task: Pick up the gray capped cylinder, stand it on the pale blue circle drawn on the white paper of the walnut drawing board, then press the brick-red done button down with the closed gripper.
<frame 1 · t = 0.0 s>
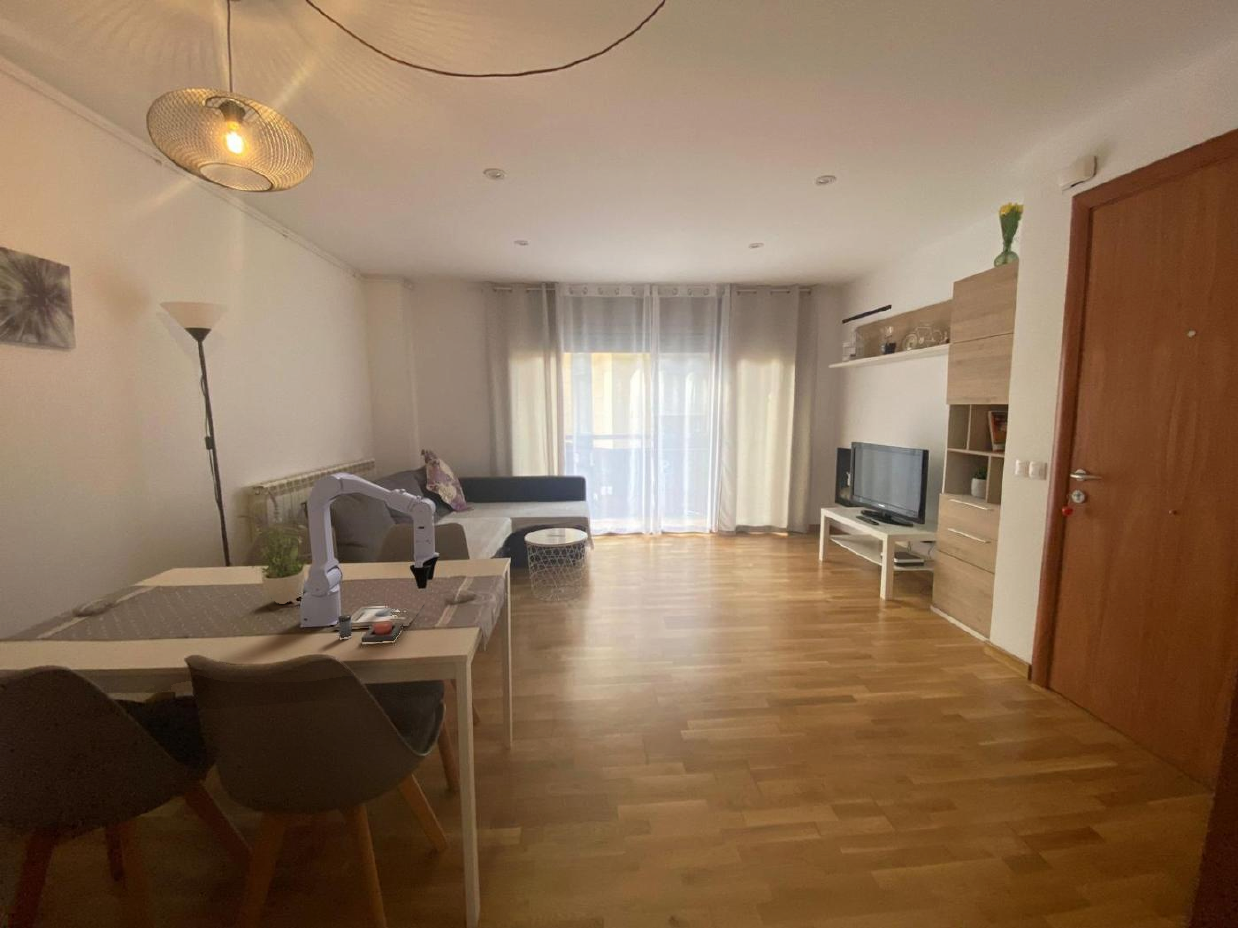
hand: (425, 583, 138), 10 cm above the table, tool pointing down, fingers open, 7 cm apart
button housing: (383, 637, 125), on the table
drawing board: (382, 616, 138), on the table
ceramic mug: (293, 601, 150), on the table
done button: (383, 628, 125), point 2 cm above the table, slide at 0.0 cm
gray capped cylinder: (345, 637, 125), on the table
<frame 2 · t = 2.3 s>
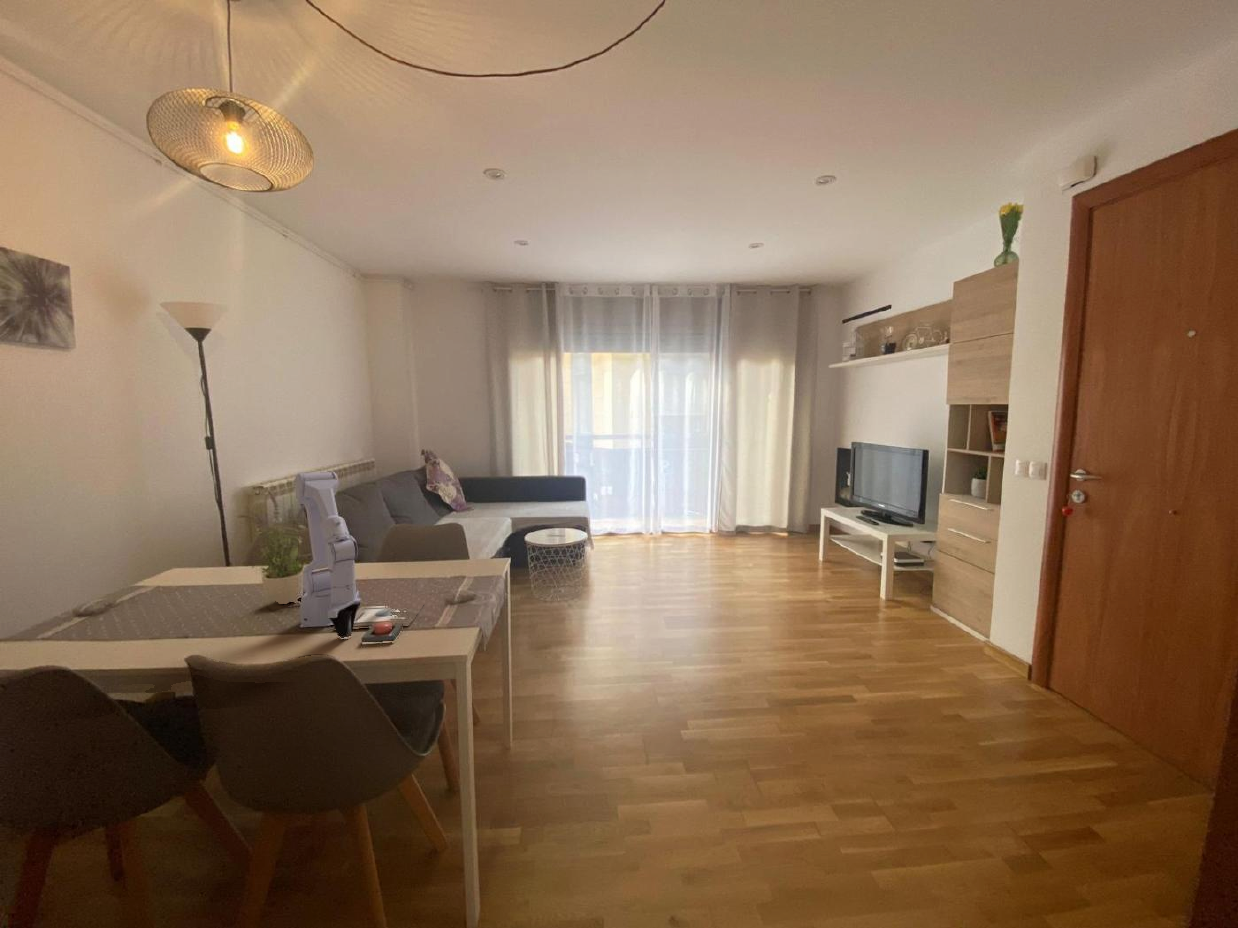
hand: (345, 632, 125), 1 cm above the table, tool pointing down, fingers closed on gray capped cylinder, 3 cm apart
gray capped cylinder: (345, 637, 125), on the table, touching gripper
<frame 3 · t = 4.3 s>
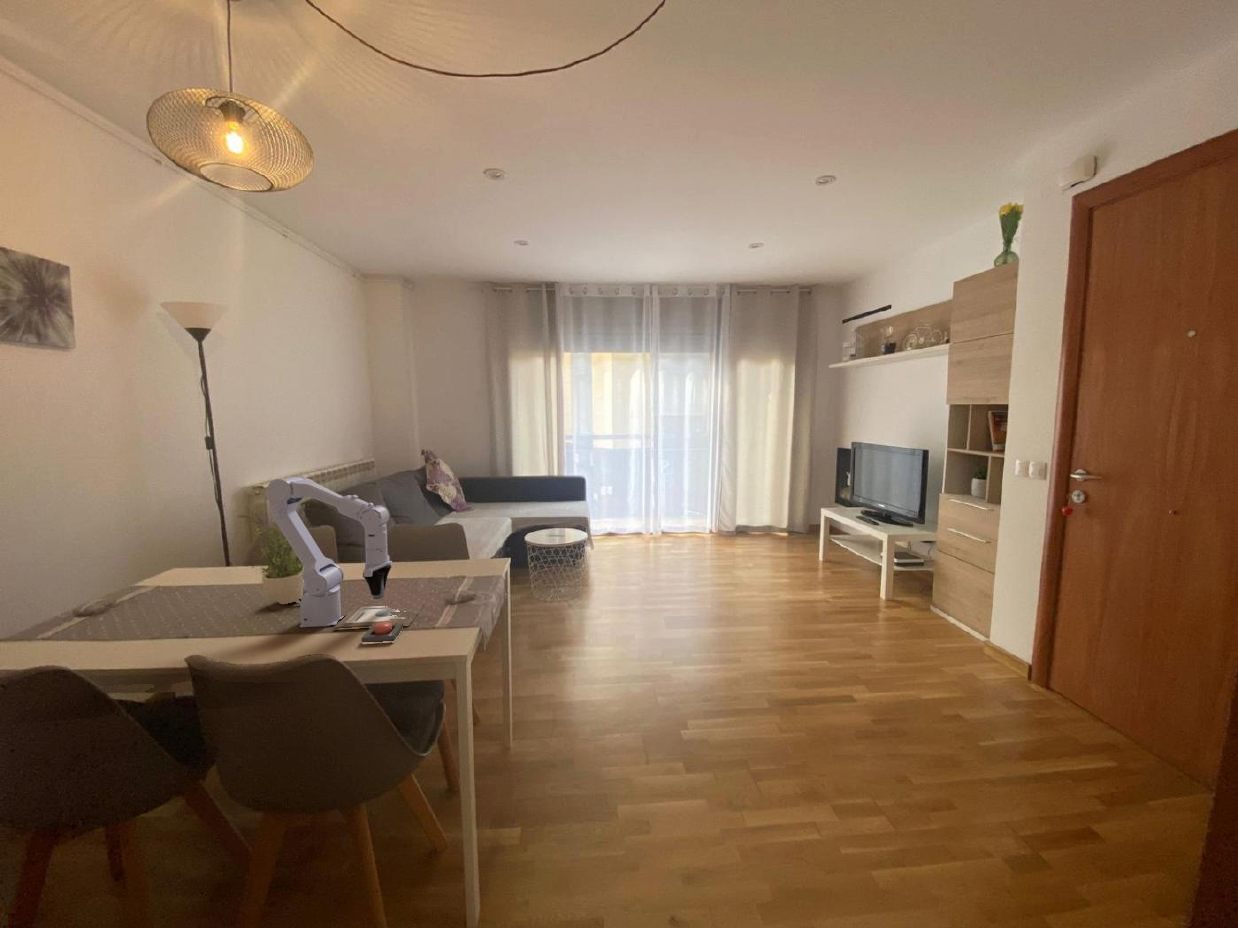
hand: (378, 592, 135), 8 cm above the table, tool pointing down, fingers closed on gray capped cylinder, 3 cm apart
gray capped cylinder: (378, 597, 135), point 7 cm above the table, touching gripper
when the fingers open (4 cm above the table, at t = 5.9 s): gray capped cylinder drops 1 cm, resting on drawing board.
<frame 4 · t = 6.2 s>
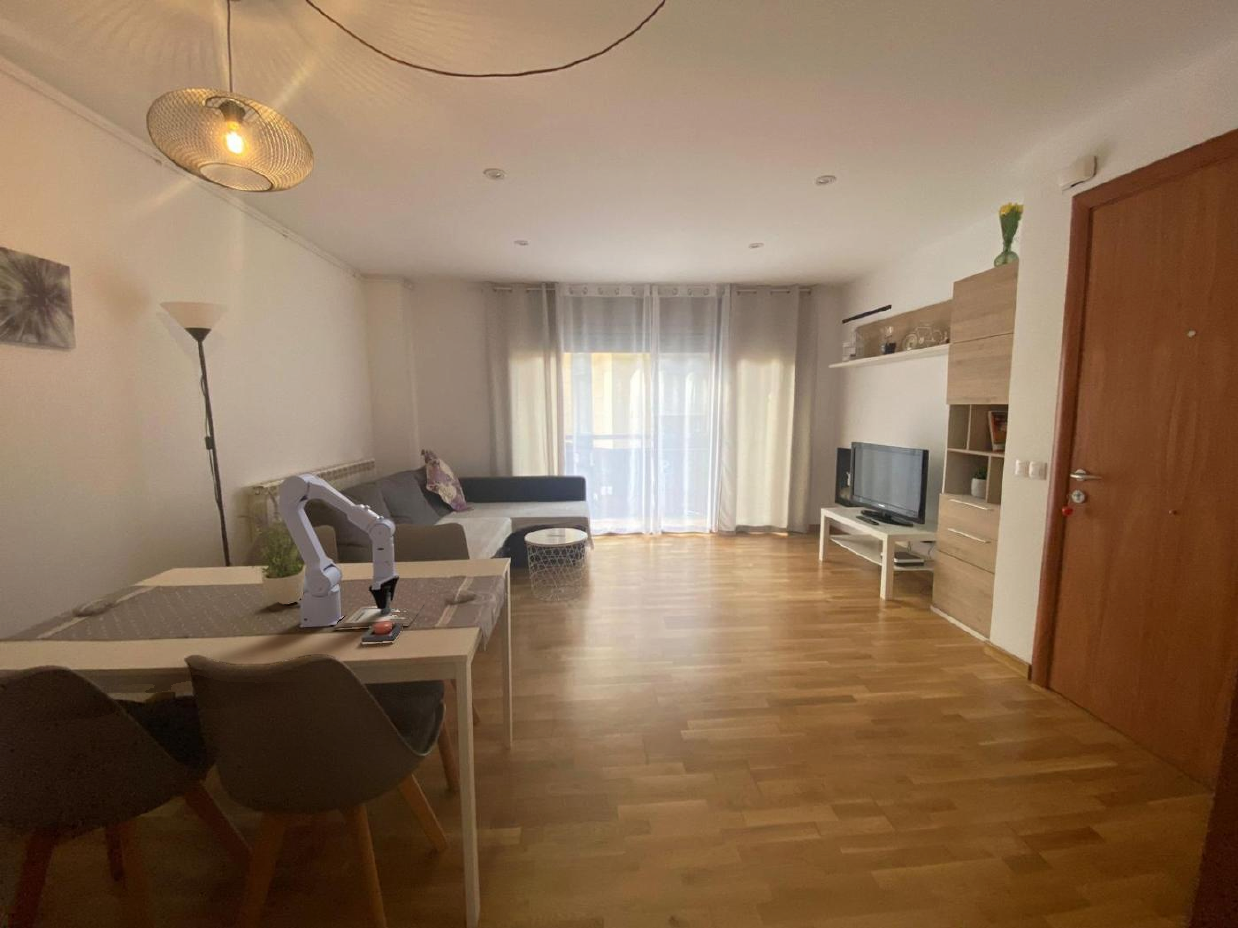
hand: (385, 604, 138), 4 cm above the table, tool pointing down, fingers open, 5 cm apart
gray capped cylinder: (385, 612, 138), point 1 cm above the table, touching drawing board
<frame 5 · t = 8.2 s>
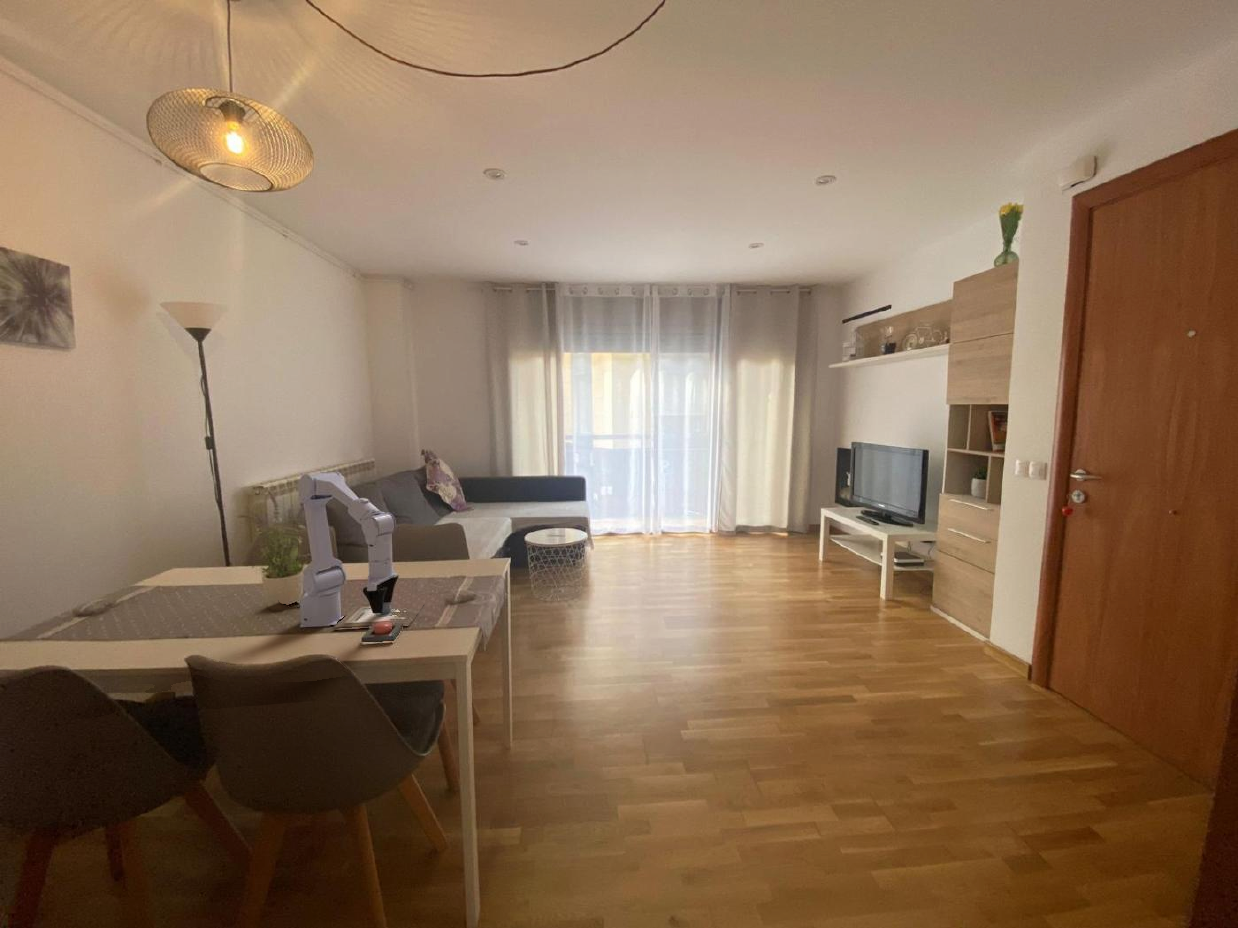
hand: (382, 607, 125), 8 cm above the table, tool pointing down, fingers open, 7 cm apart
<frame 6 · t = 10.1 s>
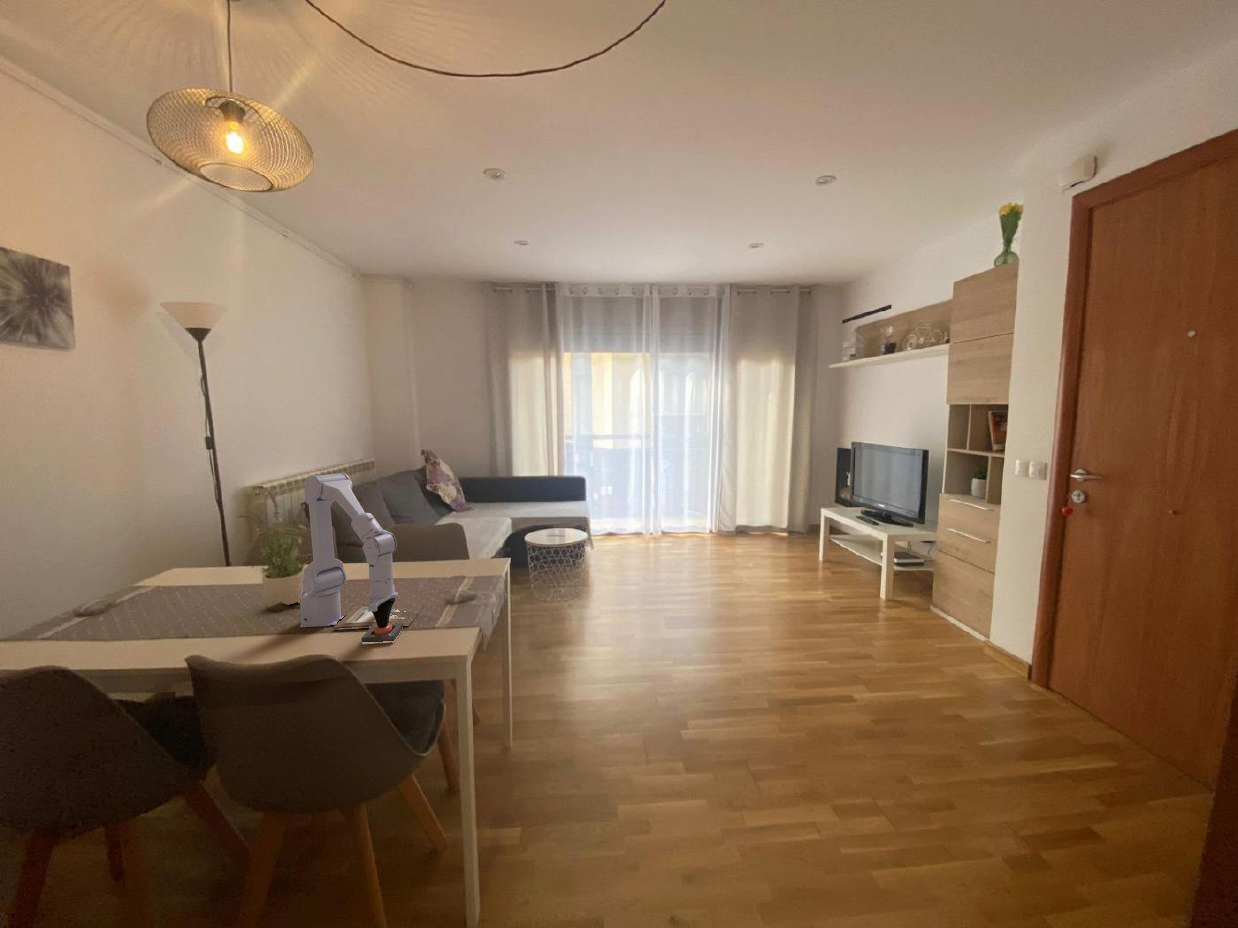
hand: (383, 626, 125), 3 cm above the table, tool pointing down, fingers closed, pressing on done button
done button: (383, 630, 125), point 2 cm above the table, slide at 0.5 cm, touching gripper
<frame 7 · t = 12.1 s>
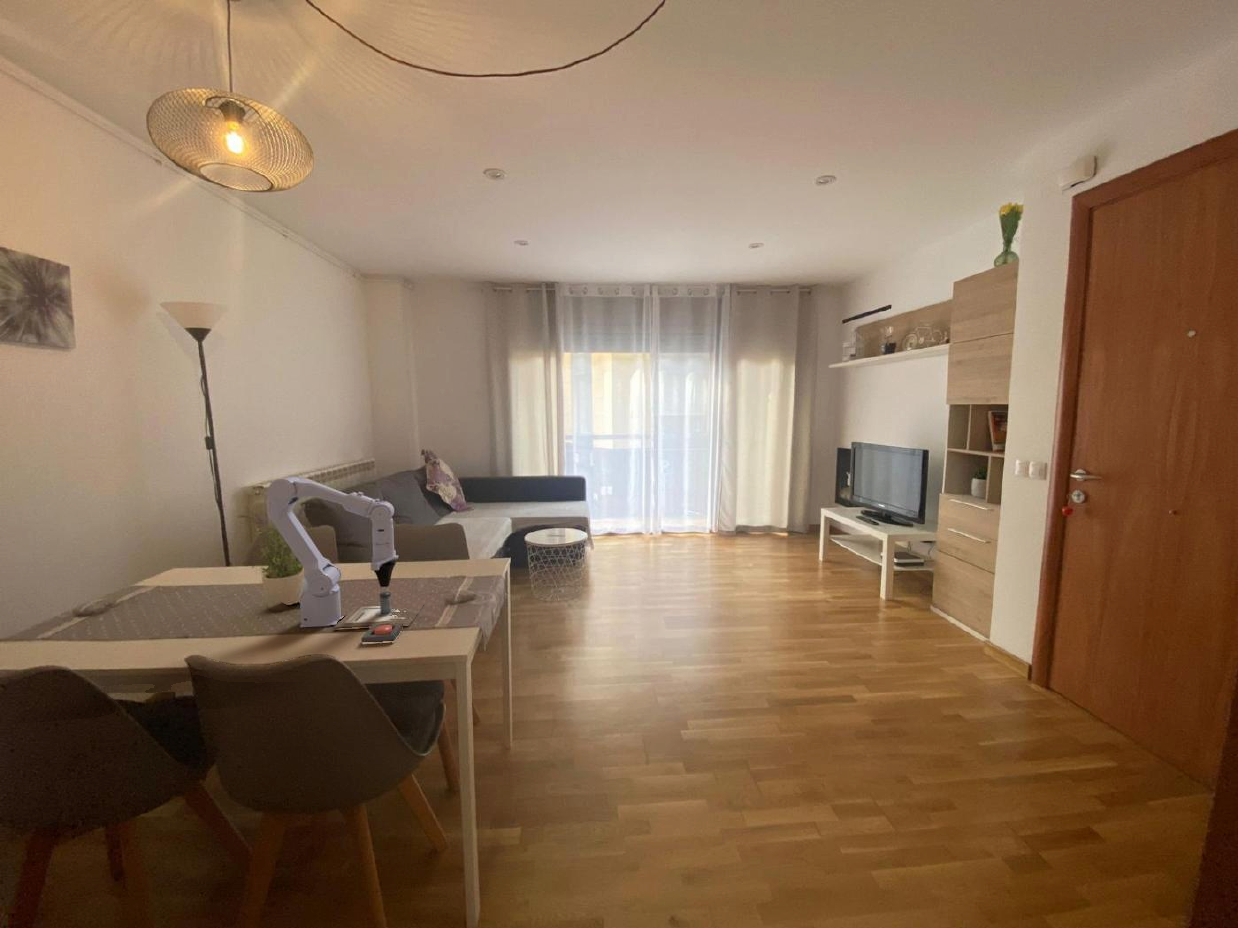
hand: (384, 586, 139), 9 cm above the table, tool pointing down, fingers closed
done button: (383, 631, 125), point 1 cm above the table, slide at 1.0 cm
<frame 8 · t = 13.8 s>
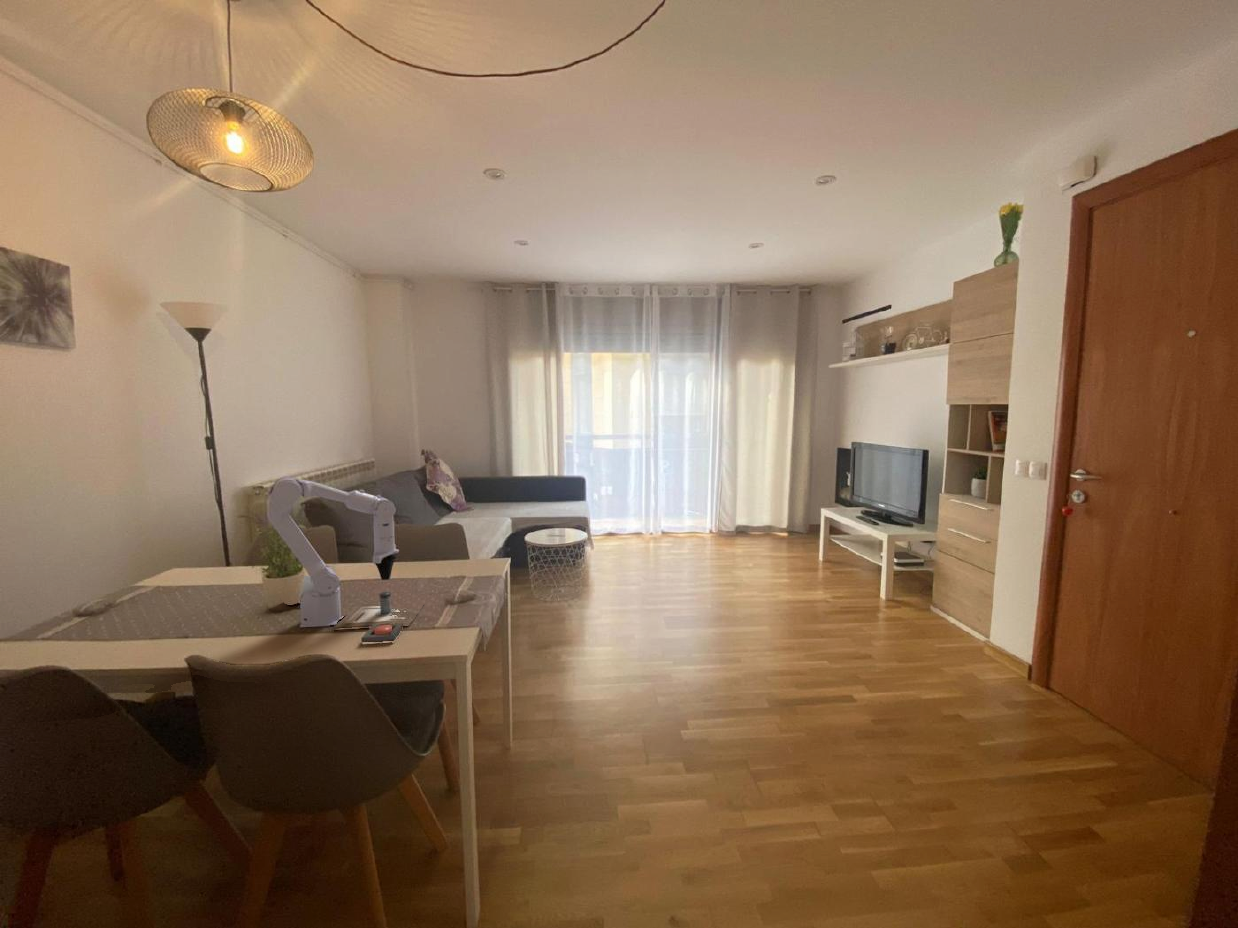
hand: (385, 579, 144), 9 cm above the table, tool pointing down, fingers closed
at the end: gray capped cylinder 0.1 cm from the target spot on the drawing board, point 1.3 cm above the drawing board's base; gray capped cylinder tilted 0°; done button slide at 1.0 cm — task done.
